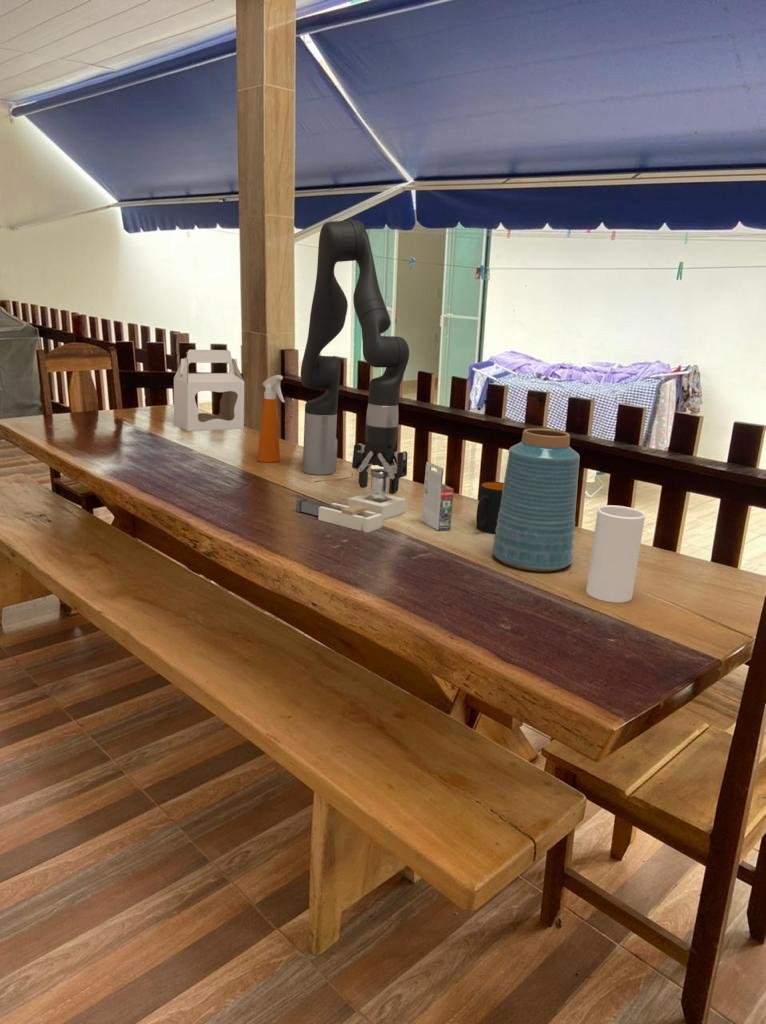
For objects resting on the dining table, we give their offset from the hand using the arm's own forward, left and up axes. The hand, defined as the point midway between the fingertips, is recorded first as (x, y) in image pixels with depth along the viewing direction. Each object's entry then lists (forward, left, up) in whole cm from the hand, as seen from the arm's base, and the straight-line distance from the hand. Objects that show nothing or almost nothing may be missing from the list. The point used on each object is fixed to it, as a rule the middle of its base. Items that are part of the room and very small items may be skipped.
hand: (377, 490), depth 187 cm
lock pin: (+12, -8, -5) cm, 16 cm away
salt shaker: (0, 0, -5) cm, 5 cm away
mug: (-7, +27, -6) cm, 28 cm away
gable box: (-51, -110, -6) cm, 121 cm away
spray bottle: (-24, -55, -6) cm, 60 cm away
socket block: (0, 0, -6) cm, 6 cm away
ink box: (-1, +16, -6) cm, 17 cm away
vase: (+6, +43, -6) cm, 44 cm away
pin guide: (+12, 0, -6) cm, 13 cm away
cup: (+14, +62, -6) cm, 64 cm away
